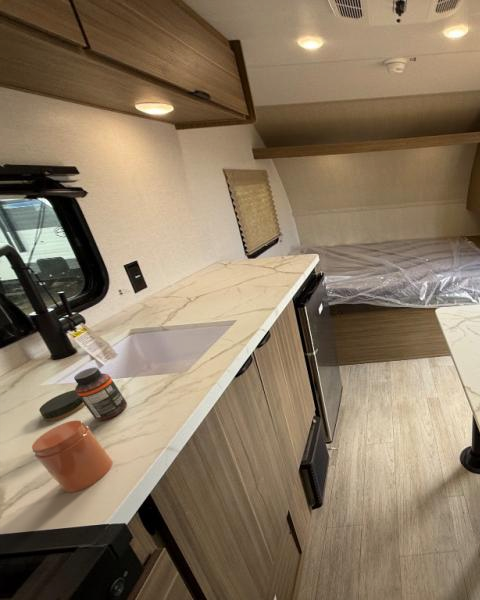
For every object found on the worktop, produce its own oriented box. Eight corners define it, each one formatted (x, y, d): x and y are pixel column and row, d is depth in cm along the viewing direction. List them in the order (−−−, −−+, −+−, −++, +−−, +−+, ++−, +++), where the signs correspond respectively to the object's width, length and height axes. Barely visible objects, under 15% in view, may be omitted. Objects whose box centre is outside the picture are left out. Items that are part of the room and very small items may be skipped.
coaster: (34, 422, 73) (32, 419, 73) (69, 397, 80) (67, 395, 80) (65, 420, 72) (63, 417, 72) (97, 396, 80) (95, 393, 79)
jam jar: (53, 493, 55) (17, 452, 51) (90, 458, 61) (60, 419, 57) (88, 492, 54) (54, 450, 50) (121, 457, 60) (94, 418, 56)
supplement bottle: (100, 409, 74) (74, 370, 70) (130, 399, 77) (107, 360, 72) (91, 426, 70) (62, 385, 65) (124, 414, 72) (98, 374, 67)
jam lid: (74, 412, 73) (69, 406, 73) (34, 422, 72) (29, 416, 71) (93, 391, 80) (89, 386, 79) (57, 400, 79) (53, 394, 78)
